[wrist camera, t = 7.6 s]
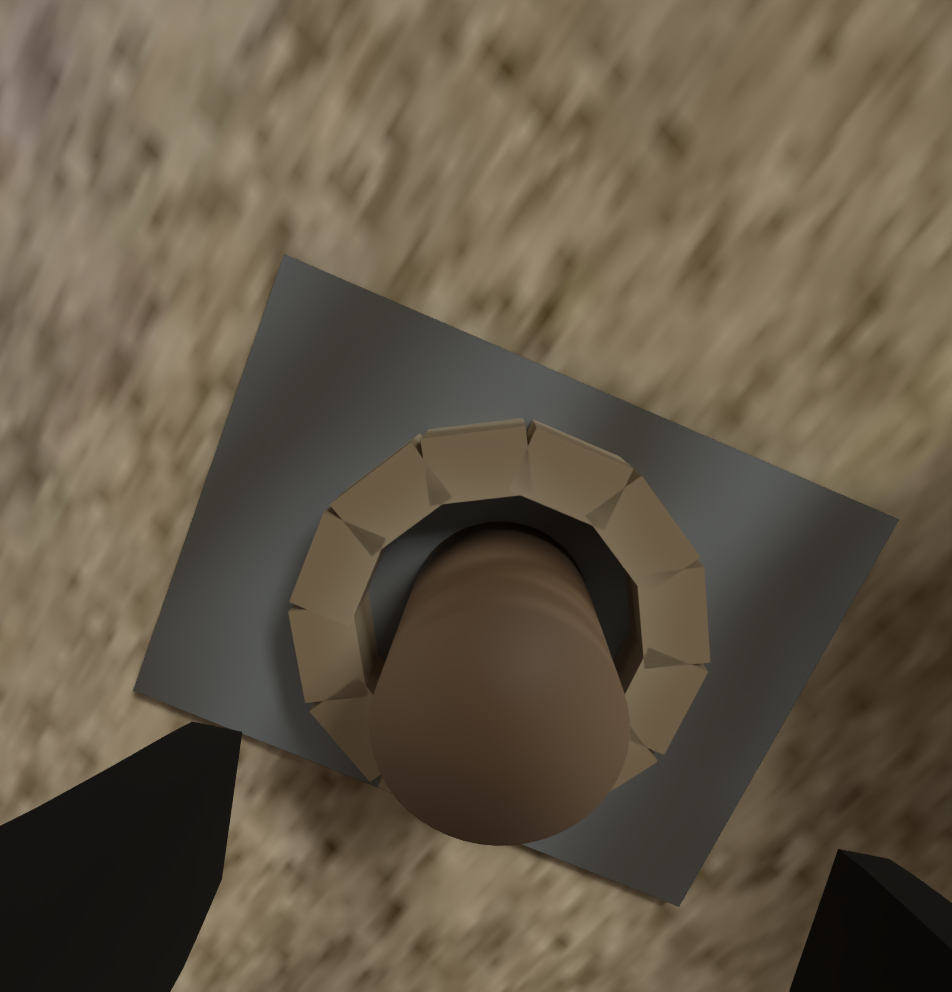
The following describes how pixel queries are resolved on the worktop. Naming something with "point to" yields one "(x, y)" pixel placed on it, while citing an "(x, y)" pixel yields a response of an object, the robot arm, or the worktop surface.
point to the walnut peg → (499, 692)
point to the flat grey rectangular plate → (492, 498)
